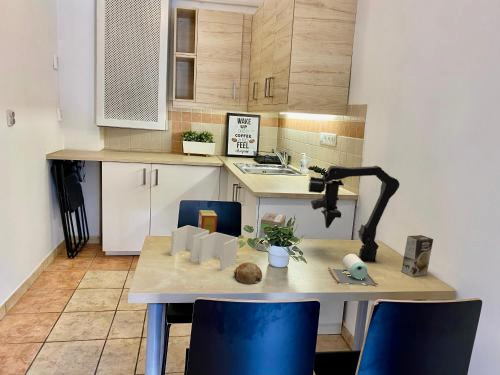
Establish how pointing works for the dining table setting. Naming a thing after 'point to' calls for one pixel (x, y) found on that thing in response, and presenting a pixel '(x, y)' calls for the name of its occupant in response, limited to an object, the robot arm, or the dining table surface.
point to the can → (355, 266)
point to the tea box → (269, 225)
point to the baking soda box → (207, 220)
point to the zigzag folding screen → (205, 245)
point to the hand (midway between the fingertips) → (326, 227)
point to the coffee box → (417, 255)
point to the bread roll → (248, 273)
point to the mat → (344, 278)
